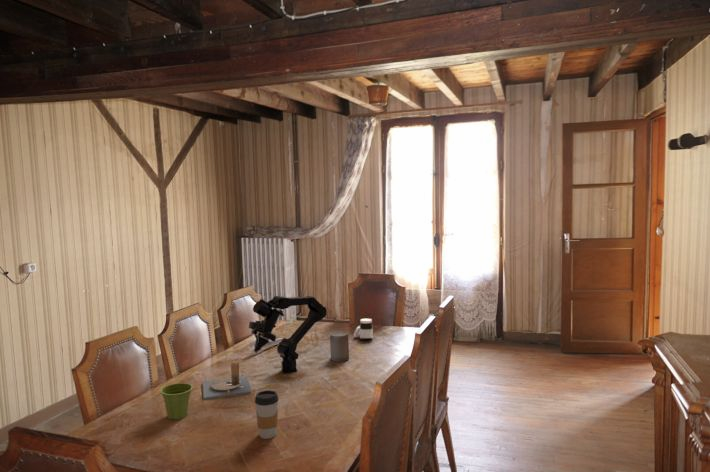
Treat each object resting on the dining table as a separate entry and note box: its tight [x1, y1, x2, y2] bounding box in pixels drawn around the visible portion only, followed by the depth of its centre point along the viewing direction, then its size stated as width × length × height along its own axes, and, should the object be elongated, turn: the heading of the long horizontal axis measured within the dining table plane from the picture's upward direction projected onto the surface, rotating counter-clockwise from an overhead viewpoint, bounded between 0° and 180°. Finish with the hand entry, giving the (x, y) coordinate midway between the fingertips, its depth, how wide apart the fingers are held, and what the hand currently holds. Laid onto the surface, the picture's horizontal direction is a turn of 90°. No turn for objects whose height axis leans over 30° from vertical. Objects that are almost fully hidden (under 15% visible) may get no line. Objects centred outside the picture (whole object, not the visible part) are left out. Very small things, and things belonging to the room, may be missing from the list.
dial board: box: [202, 375, 253, 401], centre depth 219 cm, size 20×20×2 cm
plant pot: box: [160, 382, 194, 420], centre depth 191 cm, size 12×12×11 cm
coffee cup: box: [254, 390, 279, 440], centre depth 174 cm, size 8×8×15 cm
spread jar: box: [353, 318, 374, 342], centre depth 291 cm, size 12×11×12 cm
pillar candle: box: [329, 330, 350, 363], centre depth 255 cm, size 10×10×15 cm
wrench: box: [249, 337, 285, 355], centre depth 274 cm, size 8×2×30 cm
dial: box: [211, 362, 241, 391], centre depth 218 cm, size 13×13×10 cm
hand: (255, 351), depth 226 cm, fingers closed
